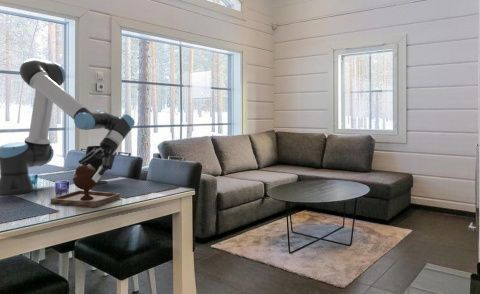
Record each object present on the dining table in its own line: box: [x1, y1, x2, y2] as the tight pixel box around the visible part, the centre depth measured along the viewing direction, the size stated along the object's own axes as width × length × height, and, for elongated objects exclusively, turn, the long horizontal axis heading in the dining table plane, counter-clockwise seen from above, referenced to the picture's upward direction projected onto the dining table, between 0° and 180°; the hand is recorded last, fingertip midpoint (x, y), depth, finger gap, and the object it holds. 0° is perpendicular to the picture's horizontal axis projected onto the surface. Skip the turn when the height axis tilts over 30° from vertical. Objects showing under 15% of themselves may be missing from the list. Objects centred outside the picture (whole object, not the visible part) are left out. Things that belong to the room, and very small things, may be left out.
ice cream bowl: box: [72, 165, 100, 200], centre depth 164 cm, size 11×11×15 cm
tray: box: [50, 189, 121, 209], centre depth 165 cm, size 22×18×2 cm
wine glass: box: [85, 145, 108, 185], centre depth 205 cm, size 10×10×20 cm
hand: (84, 178), depth 163 cm, fingers open, 13 cm apart
